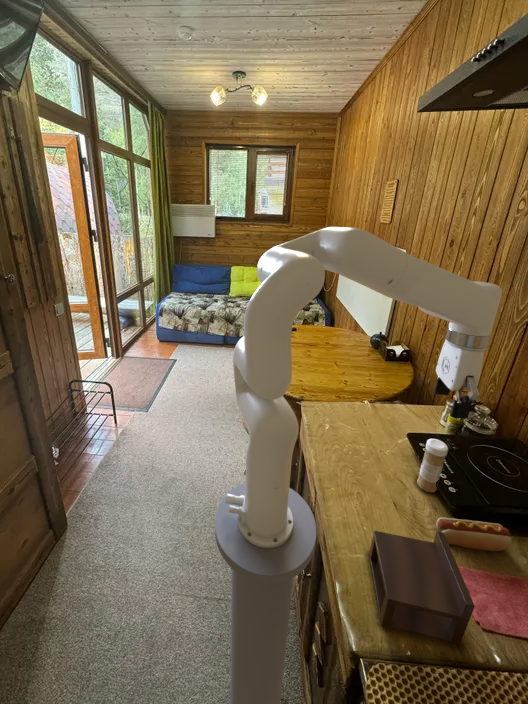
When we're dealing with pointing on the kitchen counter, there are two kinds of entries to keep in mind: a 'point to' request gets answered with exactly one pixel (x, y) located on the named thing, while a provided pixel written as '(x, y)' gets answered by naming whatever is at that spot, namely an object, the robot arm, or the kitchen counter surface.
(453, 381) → the robot arm
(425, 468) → the sprinkles bottle
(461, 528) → the food
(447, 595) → the spice rack
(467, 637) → the kitchen counter surface
